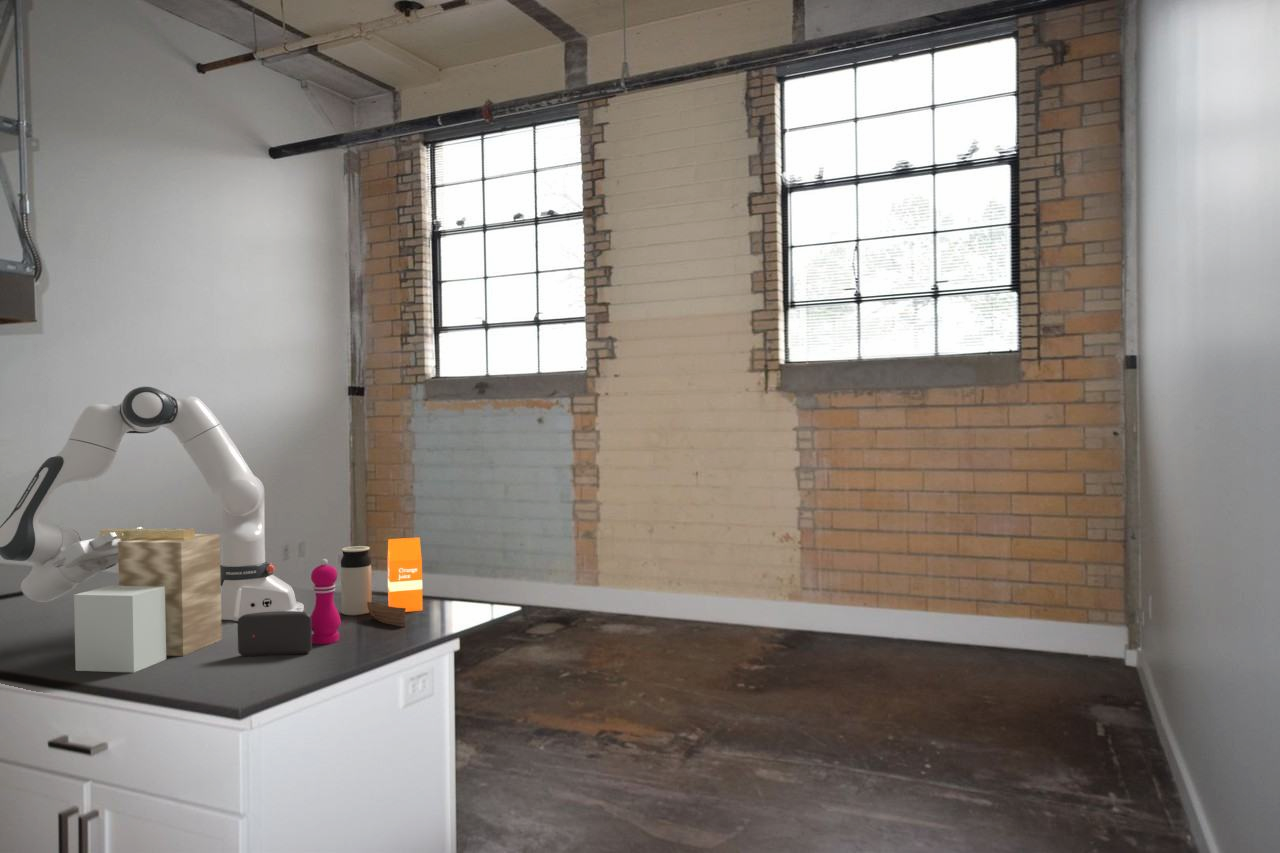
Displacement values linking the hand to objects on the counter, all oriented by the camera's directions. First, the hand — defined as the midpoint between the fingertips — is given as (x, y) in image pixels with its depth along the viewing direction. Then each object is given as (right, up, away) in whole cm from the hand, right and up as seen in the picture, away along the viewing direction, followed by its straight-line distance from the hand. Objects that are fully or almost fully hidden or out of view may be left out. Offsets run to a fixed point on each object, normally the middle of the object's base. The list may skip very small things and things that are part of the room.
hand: (127, 531), depth 205 cm
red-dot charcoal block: (+40, -27, -9) cm, 49 cm away
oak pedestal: (+12, -27, -1) cm, 30 cm away
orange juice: (+57, -26, +36) cm, 72 cm away
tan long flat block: (+5, -1, -1) cm, 5 cm away
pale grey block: (+8, -27, -16) cm, 33 cm away
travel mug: (+44, -27, +32) cm, 61 cm away
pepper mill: (+47, -27, +2) cm, 54 cm away
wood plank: (+57, -27, +20) cm, 66 cm away
